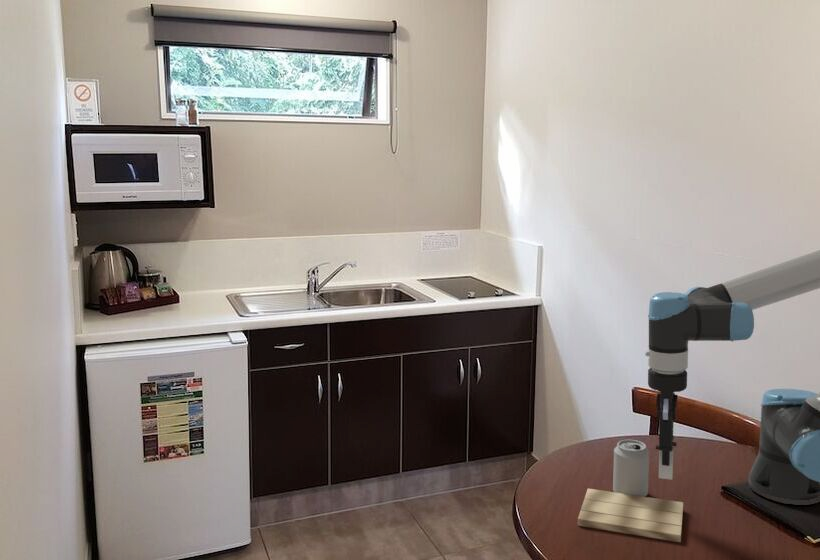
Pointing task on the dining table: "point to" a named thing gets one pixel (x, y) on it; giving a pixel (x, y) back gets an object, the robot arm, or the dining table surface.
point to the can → (631, 468)
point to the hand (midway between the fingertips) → (665, 477)
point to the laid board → (630, 525)
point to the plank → (633, 506)
